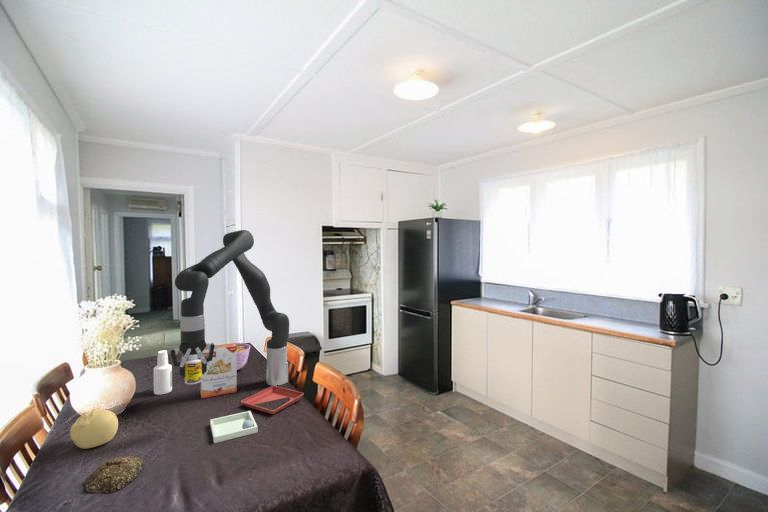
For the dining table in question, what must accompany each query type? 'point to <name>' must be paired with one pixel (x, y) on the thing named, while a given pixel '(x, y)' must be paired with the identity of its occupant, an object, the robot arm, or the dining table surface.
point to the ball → (247, 424)
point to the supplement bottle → (193, 369)
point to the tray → (232, 426)
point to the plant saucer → (272, 398)
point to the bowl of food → (242, 354)
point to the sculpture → (94, 428)
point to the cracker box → (220, 371)
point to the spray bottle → (162, 374)
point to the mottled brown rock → (114, 474)
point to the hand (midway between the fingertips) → (193, 374)
